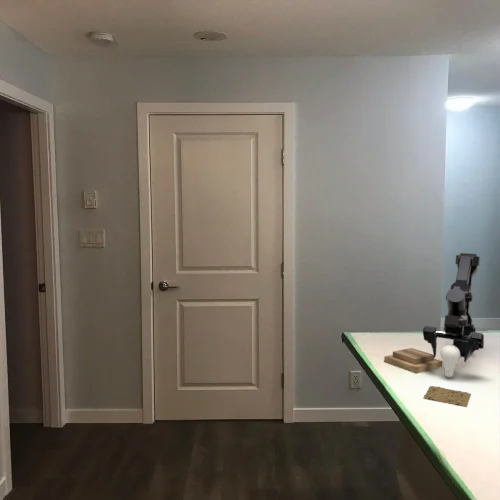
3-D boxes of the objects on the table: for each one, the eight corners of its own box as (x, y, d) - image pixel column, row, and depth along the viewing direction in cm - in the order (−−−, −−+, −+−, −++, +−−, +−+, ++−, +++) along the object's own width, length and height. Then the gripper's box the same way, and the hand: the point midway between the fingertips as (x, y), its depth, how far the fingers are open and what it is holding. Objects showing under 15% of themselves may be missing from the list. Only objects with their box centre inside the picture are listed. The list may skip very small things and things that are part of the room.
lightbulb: (458, 375, 167) (460, 343, 166) (459, 381, 161) (461, 348, 160) (438, 373, 169) (440, 341, 168) (439, 379, 163) (441, 346, 162)
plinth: (410, 356, 188) (410, 345, 188) (442, 366, 176) (443, 355, 176) (384, 361, 181) (384, 350, 180) (416, 373, 169) (416, 361, 168)
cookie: (467, 409, 141) (467, 405, 141) (422, 399, 147) (422, 396, 146) (471, 395, 151) (472, 392, 151) (429, 387, 157) (430, 384, 157)
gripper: (425, 302, 171) (417, 341, 162) (485, 309, 162) (480, 350, 153) (428, 320, 179) (420, 359, 170) (485, 328, 170) (480, 368, 161)
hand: (449, 359), depth 163 cm, fingers open, 9 cm apart
